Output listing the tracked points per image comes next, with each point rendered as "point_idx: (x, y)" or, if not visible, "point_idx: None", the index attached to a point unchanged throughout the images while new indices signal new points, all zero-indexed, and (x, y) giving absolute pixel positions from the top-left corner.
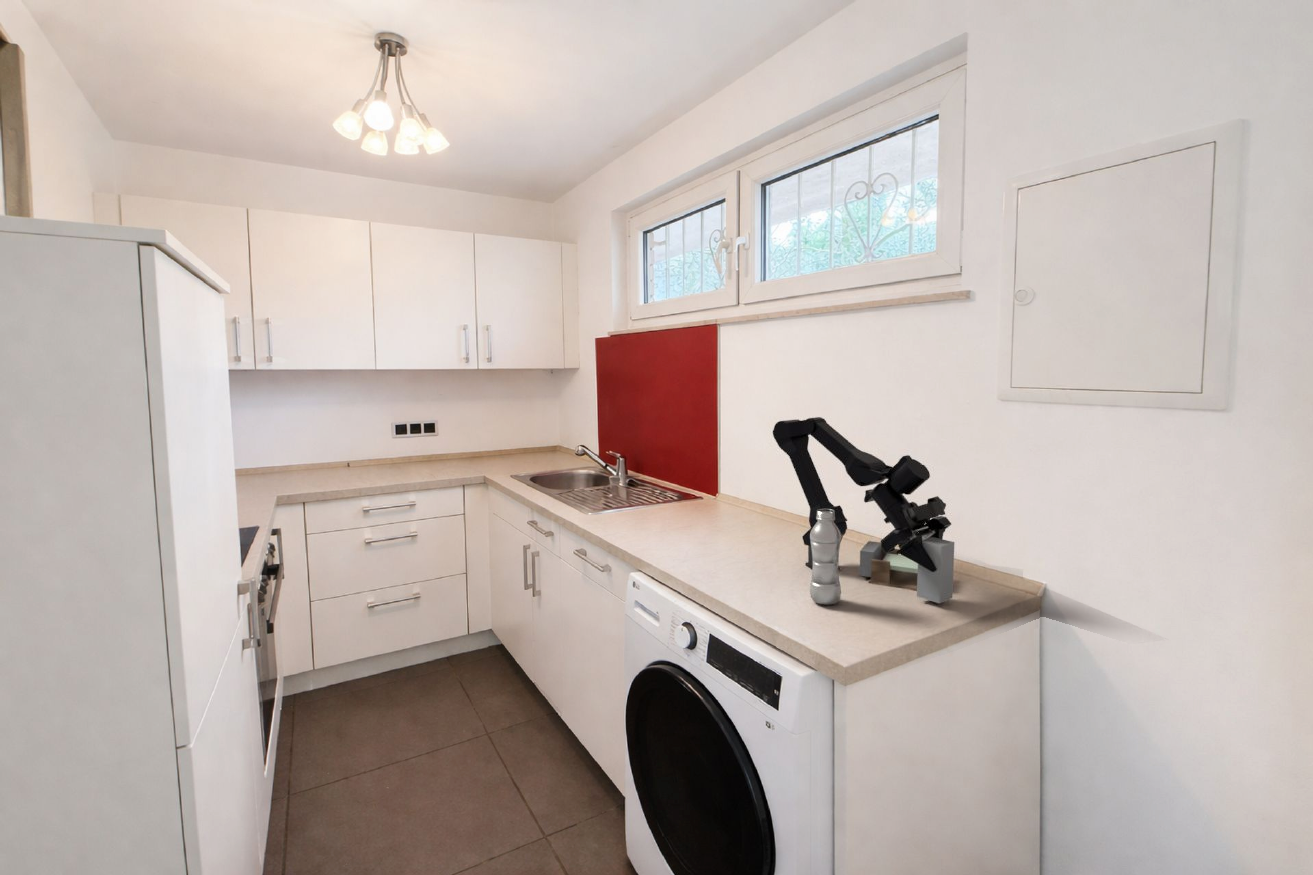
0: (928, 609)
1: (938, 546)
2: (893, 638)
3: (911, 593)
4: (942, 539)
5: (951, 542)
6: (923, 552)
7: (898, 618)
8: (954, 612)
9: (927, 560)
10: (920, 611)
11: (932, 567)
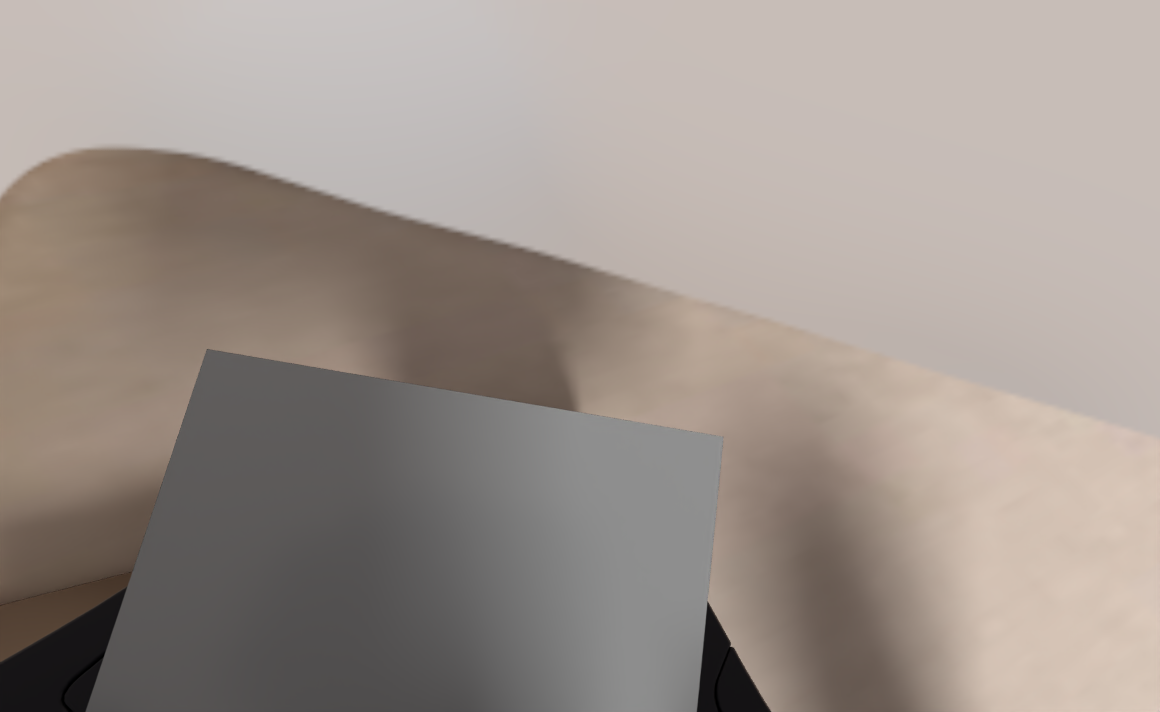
0: None
1: (711, 501)
2: (1058, 466)
3: None
4: (113, 649)
5: (271, 390)
6: (754, 702)
7: (851, 551)
8: (583, 366)
9: None
10: None
11: None
